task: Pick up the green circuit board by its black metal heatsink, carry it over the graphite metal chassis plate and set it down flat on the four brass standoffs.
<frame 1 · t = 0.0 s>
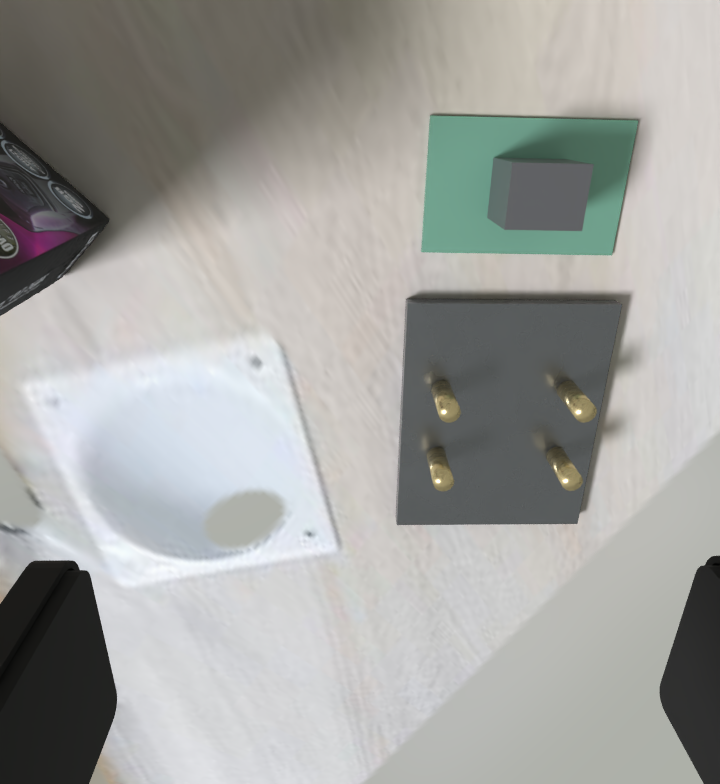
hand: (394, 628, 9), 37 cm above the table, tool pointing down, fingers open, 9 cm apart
circuit board: (522, 187, 42), on the table
chassis: (496, 416, 49), on the table
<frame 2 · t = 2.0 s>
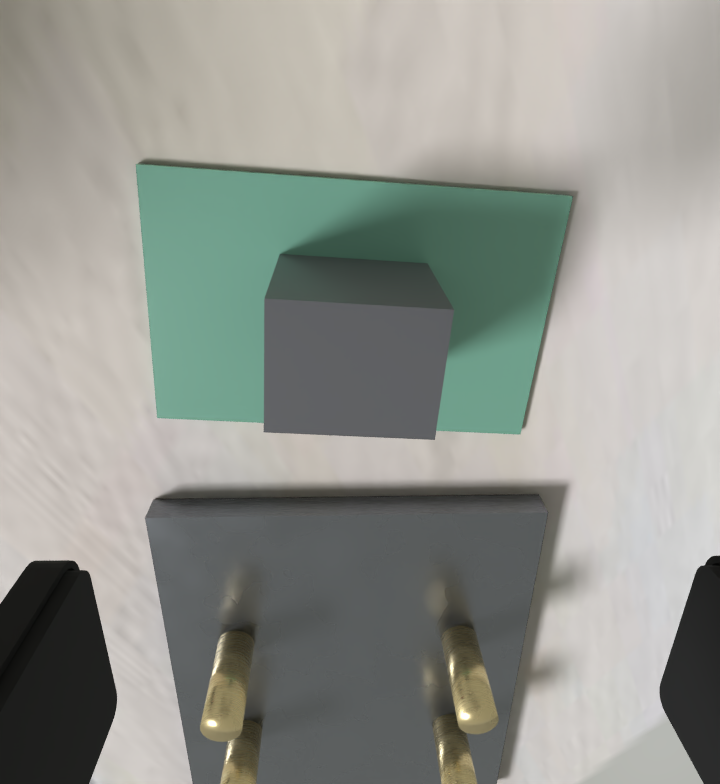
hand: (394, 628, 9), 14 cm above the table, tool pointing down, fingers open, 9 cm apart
circuit board: (349, 307, 22), on the table
chassis: (347, 664, 29), on the table
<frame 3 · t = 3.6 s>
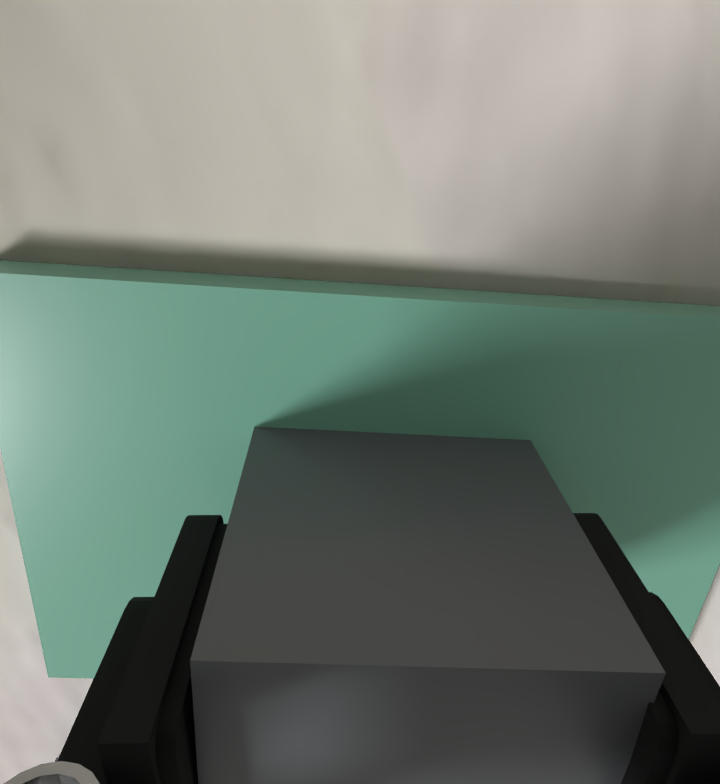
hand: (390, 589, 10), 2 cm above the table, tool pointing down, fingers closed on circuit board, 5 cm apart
circuit board: (381, 499, 12), on the table, touching gripper
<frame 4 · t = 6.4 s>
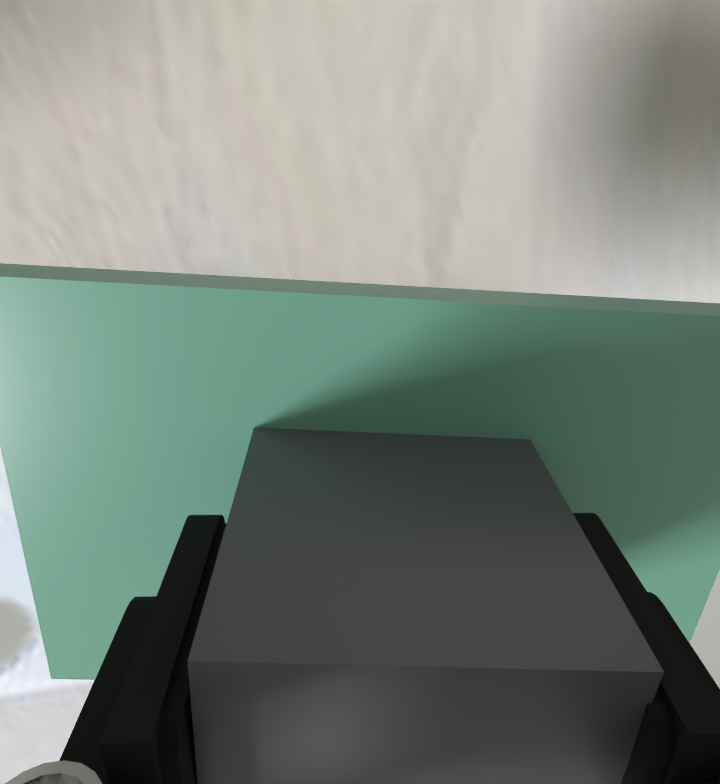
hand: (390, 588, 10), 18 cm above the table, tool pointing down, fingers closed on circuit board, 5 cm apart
circuit board: (382, 499, 12), point 16 cm above the table, touching gripper
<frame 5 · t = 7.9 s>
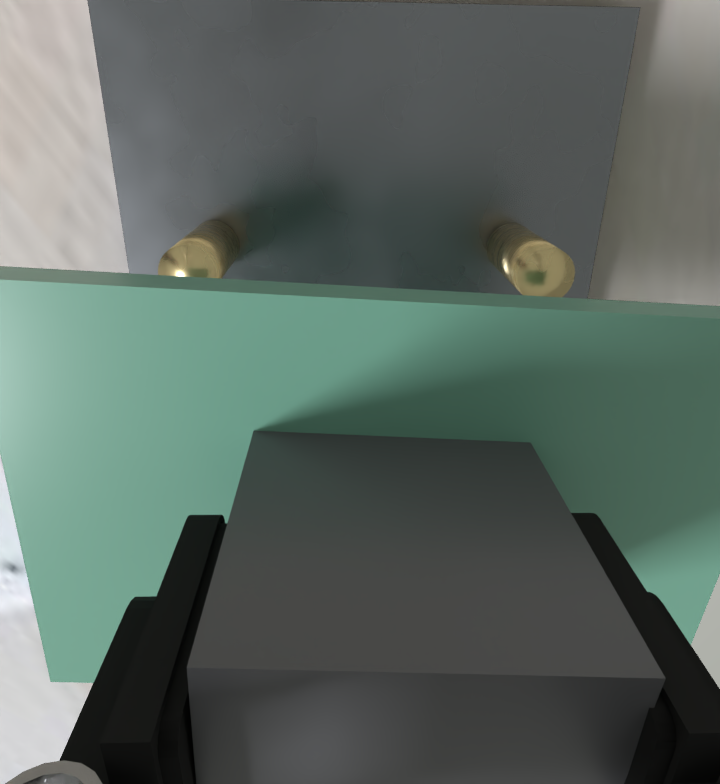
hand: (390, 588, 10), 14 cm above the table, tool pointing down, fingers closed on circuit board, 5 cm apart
circuit board: (382, 502, 12), point 11 cm above the table, touching gripper
chassis: (361, 319, 23), on the table
when the fingers open (8 cm above the table, at t = 9.2 s): circuit board stays where it is, resting on chassis.
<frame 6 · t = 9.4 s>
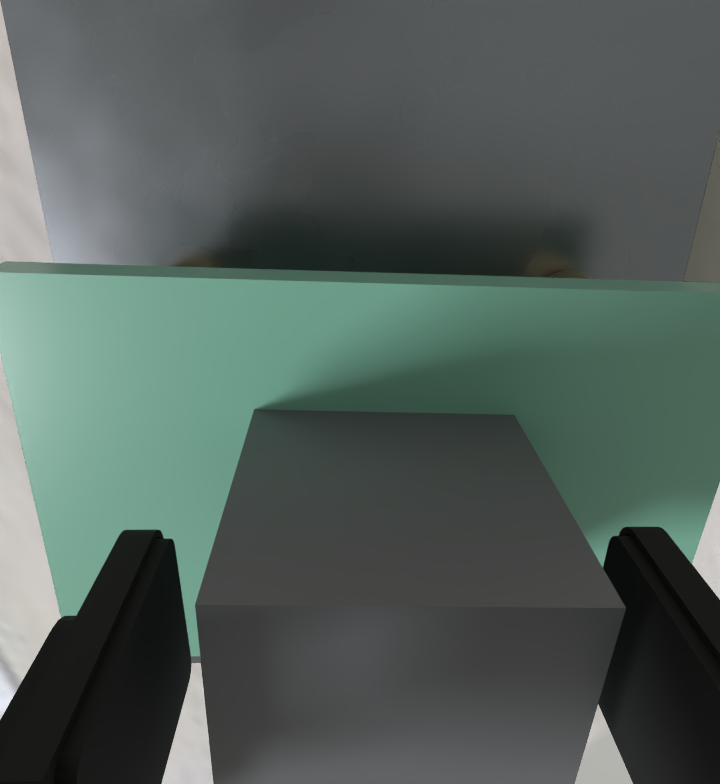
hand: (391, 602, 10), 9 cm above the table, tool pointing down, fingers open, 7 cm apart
circuit board: (377, 477, 13), point 5 cm above the table, touching chassis
chassis: (369, 386, 18), on the table
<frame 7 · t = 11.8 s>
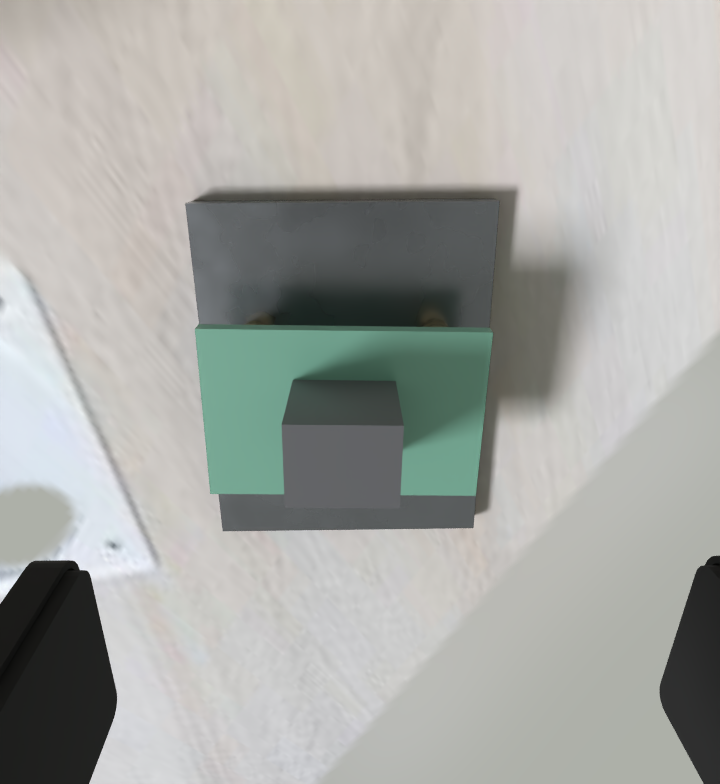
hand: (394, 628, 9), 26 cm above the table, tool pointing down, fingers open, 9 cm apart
circuit board: (344, 410, 30), point 5 cm above the table, touching chassis
chassis: (346, 376, 35), on the table
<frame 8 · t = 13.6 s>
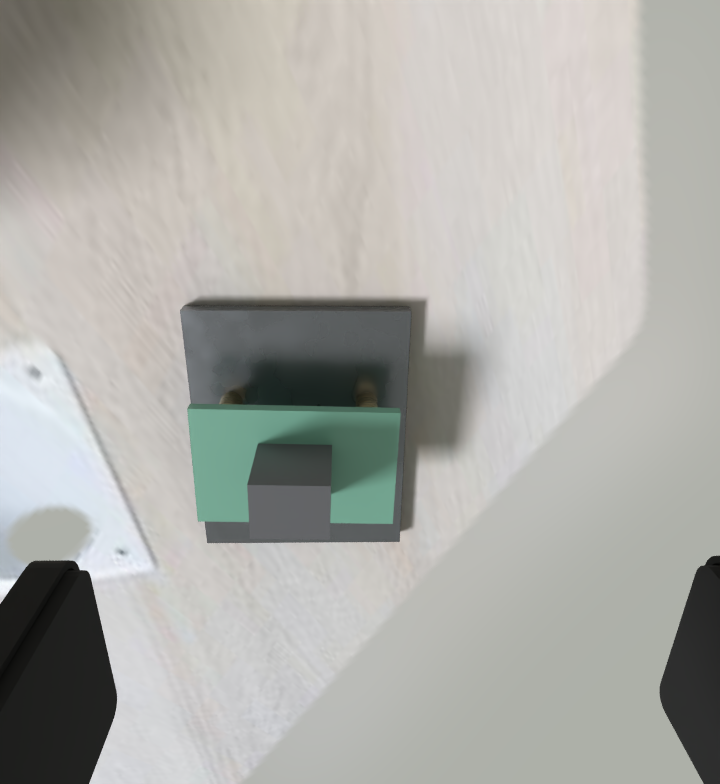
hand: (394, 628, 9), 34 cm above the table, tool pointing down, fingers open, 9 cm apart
circuit board: (296, 463, 42), point 5 cm above the table, touching chassis
chassis: (301, 429, 47), on the table
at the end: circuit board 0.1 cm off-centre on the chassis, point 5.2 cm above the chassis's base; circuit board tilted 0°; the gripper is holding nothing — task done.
